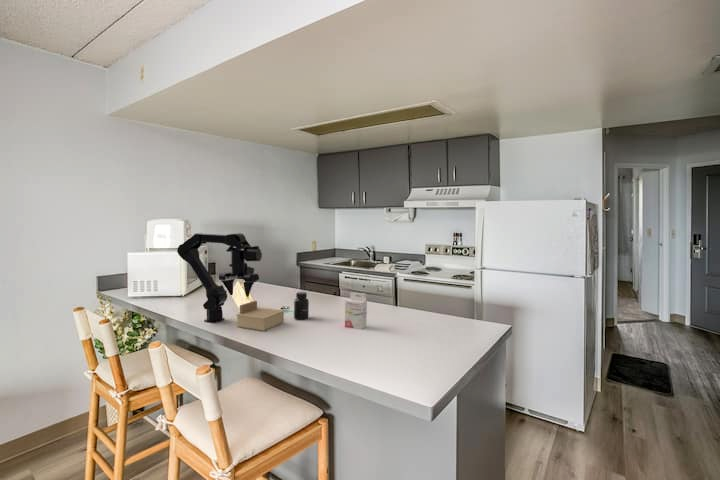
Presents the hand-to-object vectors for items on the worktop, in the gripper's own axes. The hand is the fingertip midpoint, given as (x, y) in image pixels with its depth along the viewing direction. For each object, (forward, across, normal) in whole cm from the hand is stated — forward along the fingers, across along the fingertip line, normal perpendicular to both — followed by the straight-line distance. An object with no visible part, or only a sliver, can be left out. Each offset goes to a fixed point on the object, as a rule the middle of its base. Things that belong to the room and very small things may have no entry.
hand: (239, 295), depth 168 cm
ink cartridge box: (+14, -50, -16) cm, 54 cm away
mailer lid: (+7, -12, 0) cm, 14 cm away
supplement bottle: (+13, -21, -17) cm, 30 cm away
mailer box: (+12, -12, 0) cm, 17 cm away
